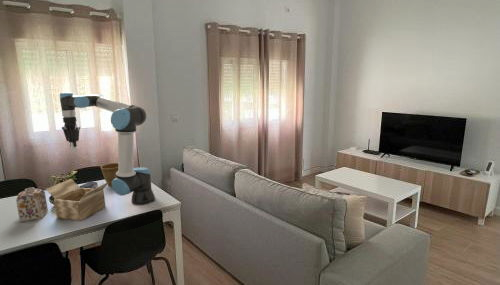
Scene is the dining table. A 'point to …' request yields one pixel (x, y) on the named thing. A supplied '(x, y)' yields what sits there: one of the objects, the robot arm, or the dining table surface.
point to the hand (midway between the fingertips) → (74, 151)
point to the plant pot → (109, 172)
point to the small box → (89, 185)
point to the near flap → (94, 191)
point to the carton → (79, 204)
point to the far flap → (62, 188)
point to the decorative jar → (31, 204)
